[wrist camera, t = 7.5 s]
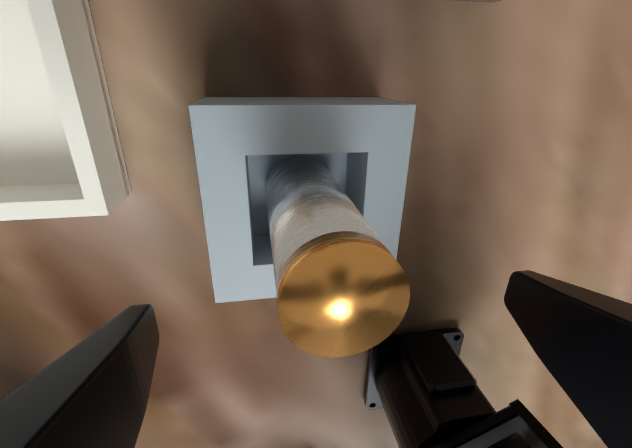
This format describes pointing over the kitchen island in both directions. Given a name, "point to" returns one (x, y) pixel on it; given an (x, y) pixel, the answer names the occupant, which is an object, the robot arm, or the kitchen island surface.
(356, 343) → the pin
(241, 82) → the kitchen island surface
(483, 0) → the rail
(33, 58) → the tray
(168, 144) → the kitchen island surface
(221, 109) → the socket block
